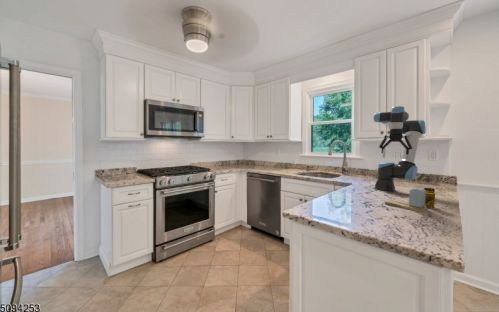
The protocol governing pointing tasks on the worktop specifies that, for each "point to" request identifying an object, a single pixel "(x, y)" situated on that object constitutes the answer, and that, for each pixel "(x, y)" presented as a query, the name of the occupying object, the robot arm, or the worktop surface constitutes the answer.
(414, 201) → the block
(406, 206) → the board
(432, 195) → the condiment
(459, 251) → the worktop surface
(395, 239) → the worktop surface
